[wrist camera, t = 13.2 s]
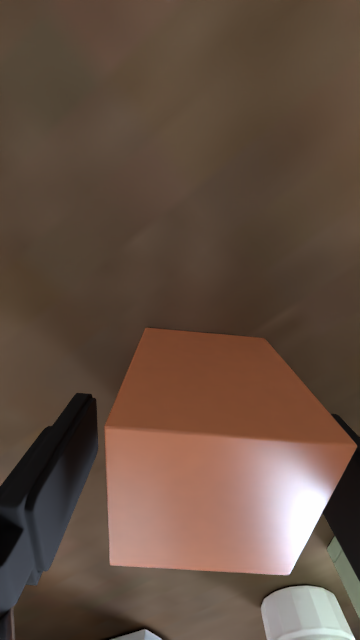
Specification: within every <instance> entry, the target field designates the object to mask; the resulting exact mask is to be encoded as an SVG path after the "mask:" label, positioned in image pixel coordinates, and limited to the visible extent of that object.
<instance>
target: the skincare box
mask: <svg viewBox="0 0 360 640" xmlns="http://www.w3.org/2000/svg"><path fill="white" fill-rule="evenodd" d="M111 640H163V639H161V638H159V637H158V636H156V635H155V634H153V633H151V632H150V631H148V630H146V629H144V630H140V631H137V632H134V633H131V634H127V635H124V636H121V637H117V638H114V639H111Z"/></svg>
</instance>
